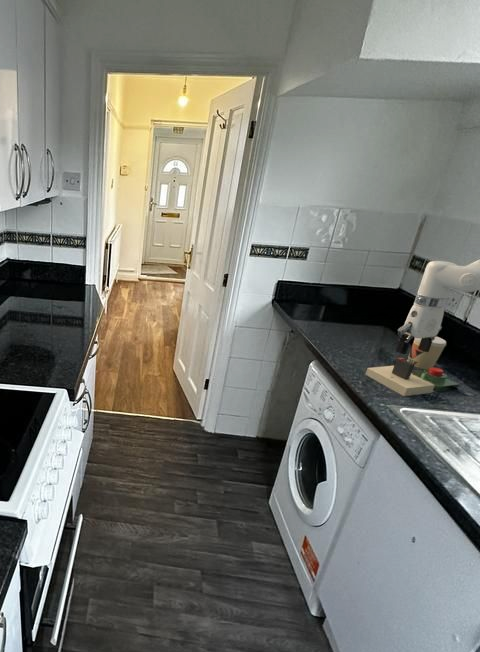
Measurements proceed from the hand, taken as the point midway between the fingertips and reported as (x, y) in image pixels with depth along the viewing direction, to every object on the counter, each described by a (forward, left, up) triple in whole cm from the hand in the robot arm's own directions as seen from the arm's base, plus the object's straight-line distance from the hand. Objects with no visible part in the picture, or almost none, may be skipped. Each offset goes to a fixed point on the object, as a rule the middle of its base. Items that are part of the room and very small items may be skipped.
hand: (411, 351), depth 136 cm
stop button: (-1, -13, -9) cm, 15 cm away
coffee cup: (+10, -21, -12) cm, 26 cm away
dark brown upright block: (+1, 0, -9) cm, 9 cm away
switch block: (-1, -13, -12) cm, 18 cm away
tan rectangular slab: (+1, 0, -12) cm, 12 cm away
